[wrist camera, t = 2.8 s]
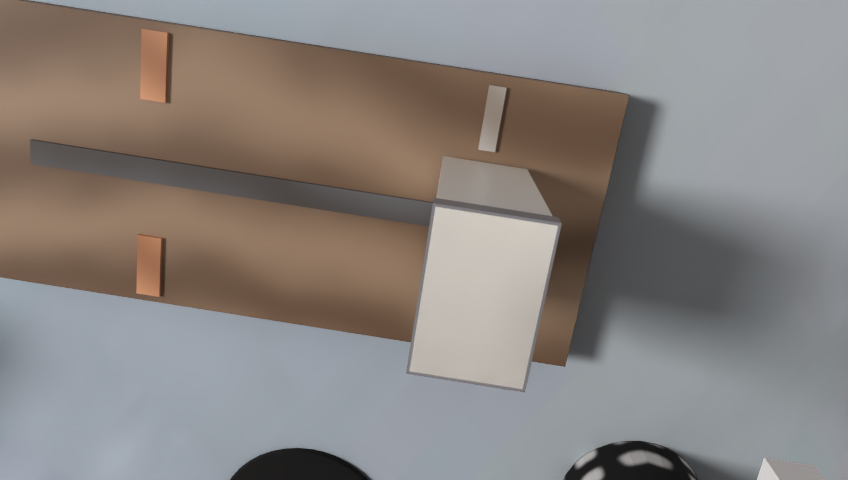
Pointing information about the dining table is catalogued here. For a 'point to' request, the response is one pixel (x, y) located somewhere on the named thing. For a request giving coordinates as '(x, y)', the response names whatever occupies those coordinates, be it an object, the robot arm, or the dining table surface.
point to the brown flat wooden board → (270, 168)
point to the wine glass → (297, 467)
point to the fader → (483, 276)
